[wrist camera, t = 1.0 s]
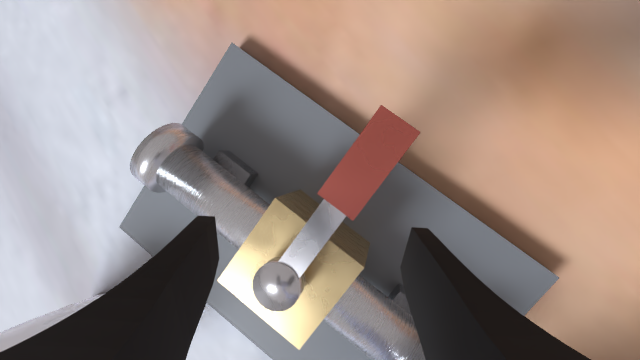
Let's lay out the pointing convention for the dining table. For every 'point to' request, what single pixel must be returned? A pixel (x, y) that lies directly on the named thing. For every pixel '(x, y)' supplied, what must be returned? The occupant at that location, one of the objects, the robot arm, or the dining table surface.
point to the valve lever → (336, 206)
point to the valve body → (279, 247)
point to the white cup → (39, 324)
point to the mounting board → (310, 175)
